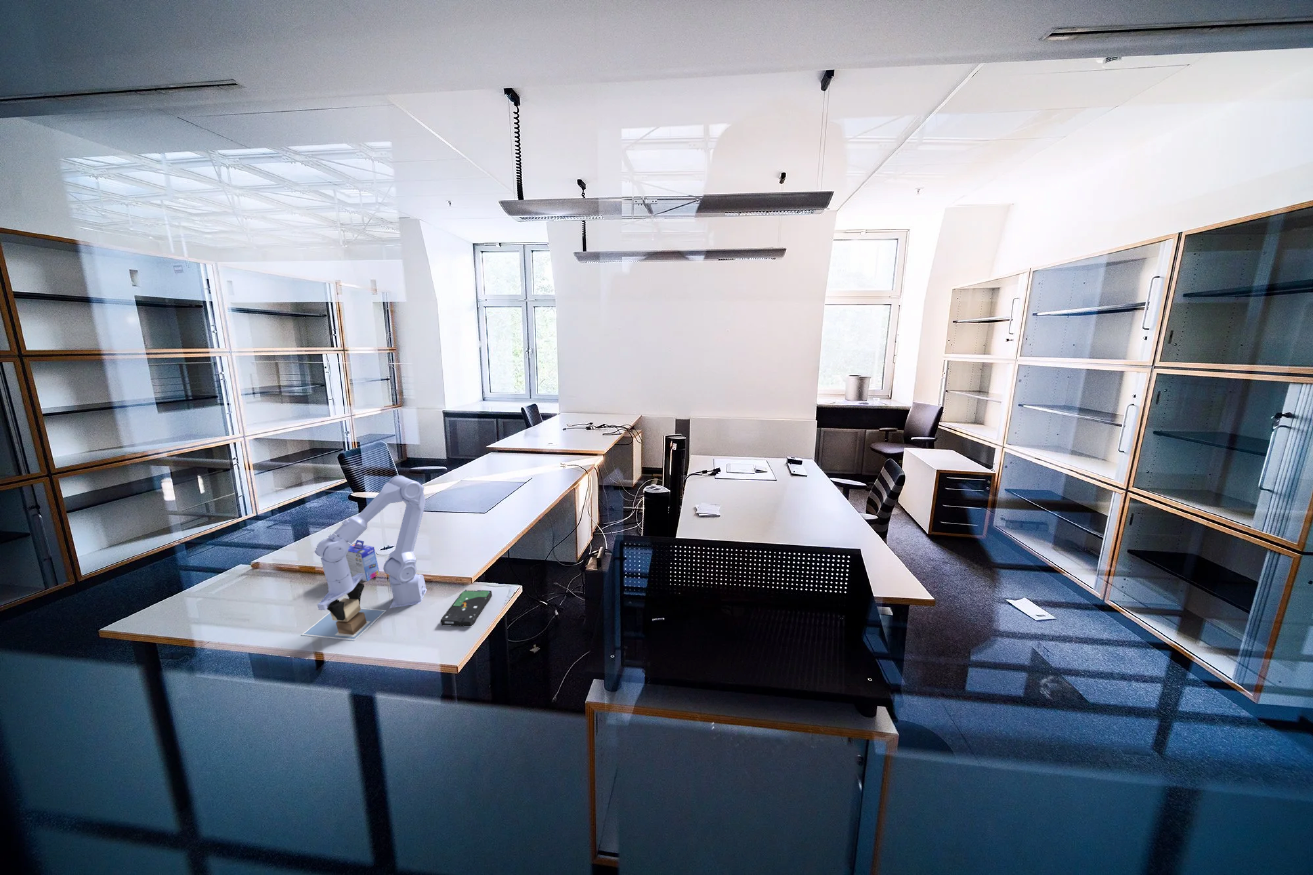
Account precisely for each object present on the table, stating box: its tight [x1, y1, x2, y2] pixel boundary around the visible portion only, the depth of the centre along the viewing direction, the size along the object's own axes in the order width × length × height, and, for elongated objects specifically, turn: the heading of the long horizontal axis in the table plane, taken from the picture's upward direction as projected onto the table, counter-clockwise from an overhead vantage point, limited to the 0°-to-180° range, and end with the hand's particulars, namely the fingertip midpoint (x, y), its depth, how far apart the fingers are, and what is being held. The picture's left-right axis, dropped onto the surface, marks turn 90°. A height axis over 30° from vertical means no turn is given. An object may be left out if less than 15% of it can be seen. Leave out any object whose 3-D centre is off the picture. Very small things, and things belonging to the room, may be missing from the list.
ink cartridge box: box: [346, 539, 380, 582], centre depth 147 cm, size 10×6×14 cm, turn 74°
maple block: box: [329, 597, 362, 622], centre depth 122 cm, size 5×5×4 cm
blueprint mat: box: [300, 607, 388, 642], centre depth 126 cm, size 18×13×1 cm
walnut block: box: [336, 612, 367, 635], centre depth 123 cm, size 5×5×4 cm
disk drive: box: [440, 589, 493, 627], centre depth 133 cm, size 10×3×15 cm
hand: (348, 612), depth 122 cm, fingers closed on maple block, 5 cm apart
